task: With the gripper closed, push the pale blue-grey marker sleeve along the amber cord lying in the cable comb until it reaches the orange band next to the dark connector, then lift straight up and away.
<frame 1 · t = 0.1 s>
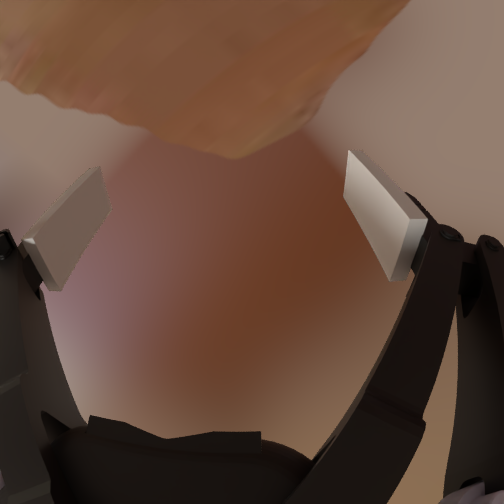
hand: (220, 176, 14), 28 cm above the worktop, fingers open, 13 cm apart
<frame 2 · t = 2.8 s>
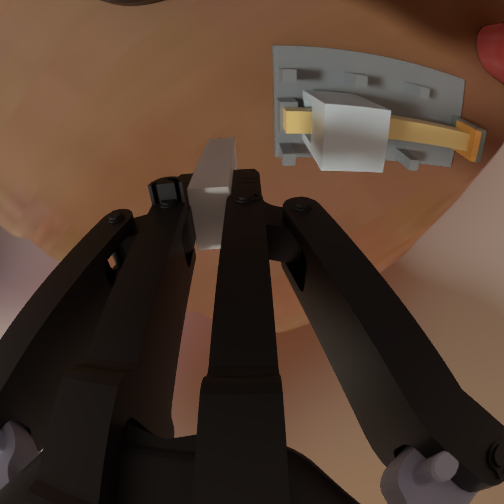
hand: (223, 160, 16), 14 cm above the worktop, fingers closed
cable comb: (378, 107, 26), on the worktop
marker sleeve: (340, 125, 21), point 7 cm above the worktop, slide at 0.0 cm
flower pot: (492, 52, 18), on the worktop
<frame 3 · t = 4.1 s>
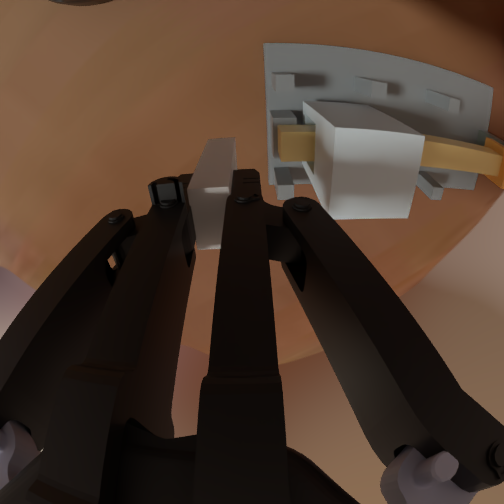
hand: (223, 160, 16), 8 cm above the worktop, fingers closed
cable comb: (395, 120, 21), on the worktop
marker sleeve: (352, 150, 16), point 7 cm above the worktop, slide at 0.0 cm
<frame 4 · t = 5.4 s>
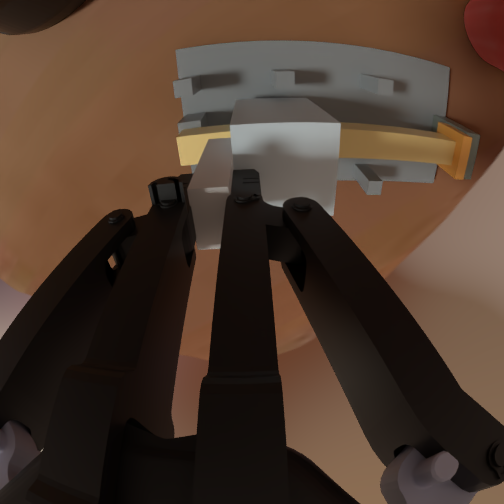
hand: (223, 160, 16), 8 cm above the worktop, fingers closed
cable comb: (327, 111, 21), on the worktop
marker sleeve: (278, 146, 16), point 7 cm above the worktop, slide at 1.7 cm, touching gripper
flower pot: (486, 32, 13), on the worktop
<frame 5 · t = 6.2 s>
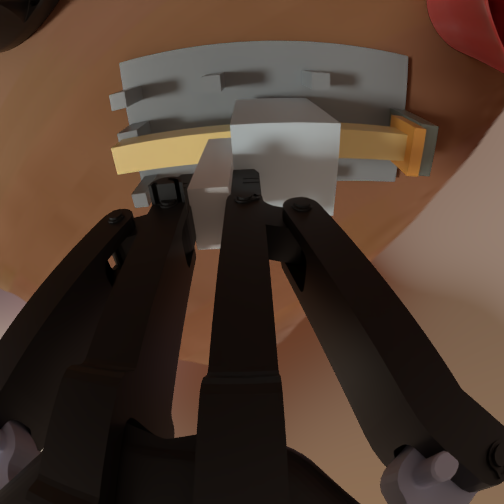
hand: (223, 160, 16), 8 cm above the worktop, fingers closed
cable comb: (270, 111, 21), on the worktop
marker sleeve: (278, 146, 16), point 7 cm above the worktop, slide at 6.4 cm, touching gripper
flower pot: (455, 17, 13), on the worktop
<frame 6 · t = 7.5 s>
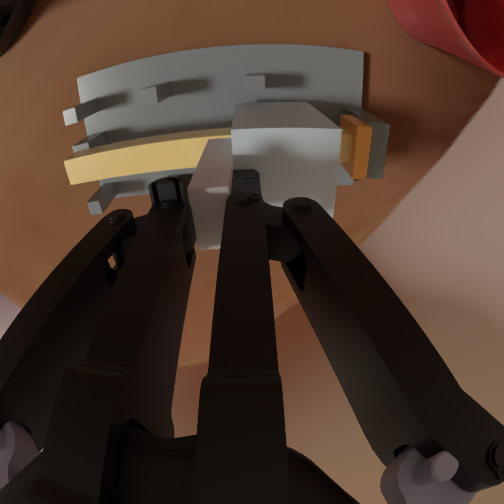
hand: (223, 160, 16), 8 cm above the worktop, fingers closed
cable comb: (217, 117, 21), on the worktop
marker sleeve: (278, 151, 16), point 7 cm above the worktop, slide at 10.7 cm, touching gripper
flower pot: (422, 8, 14), on the worktop
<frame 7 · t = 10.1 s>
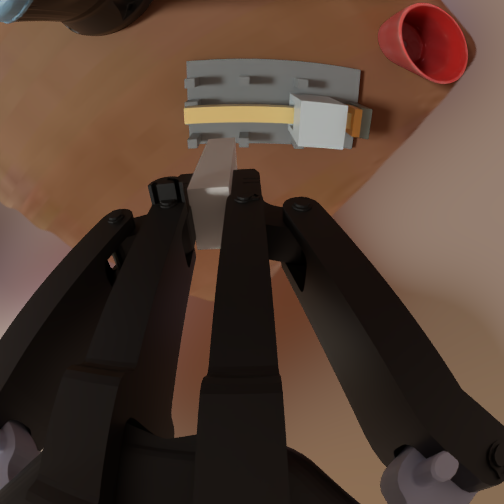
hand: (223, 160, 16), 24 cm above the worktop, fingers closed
cable comb: (274, 101, 34), on the worktop
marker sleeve: (314, 118, 30), point 7 cm above the worktop, slide at 10.7 cm
flower pot: (399, 42, 28), on the worktop
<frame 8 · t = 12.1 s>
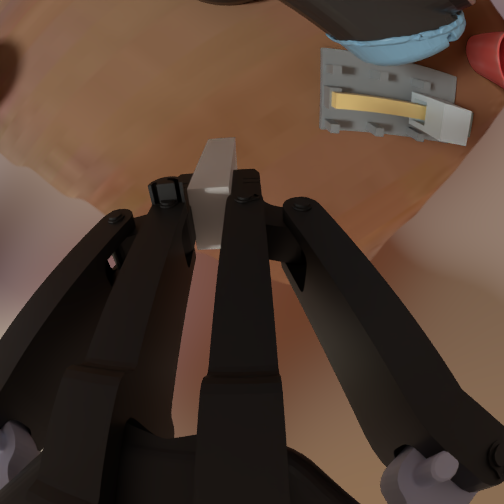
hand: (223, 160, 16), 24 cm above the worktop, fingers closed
cable comb: (393, 96, 33), on the worktop
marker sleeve: (438, 117, 29), point 7 cm above the worktop, slide at 10.7 cm
flower pot: (479, 55, 26), on the worktop
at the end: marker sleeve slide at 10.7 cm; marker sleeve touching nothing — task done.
